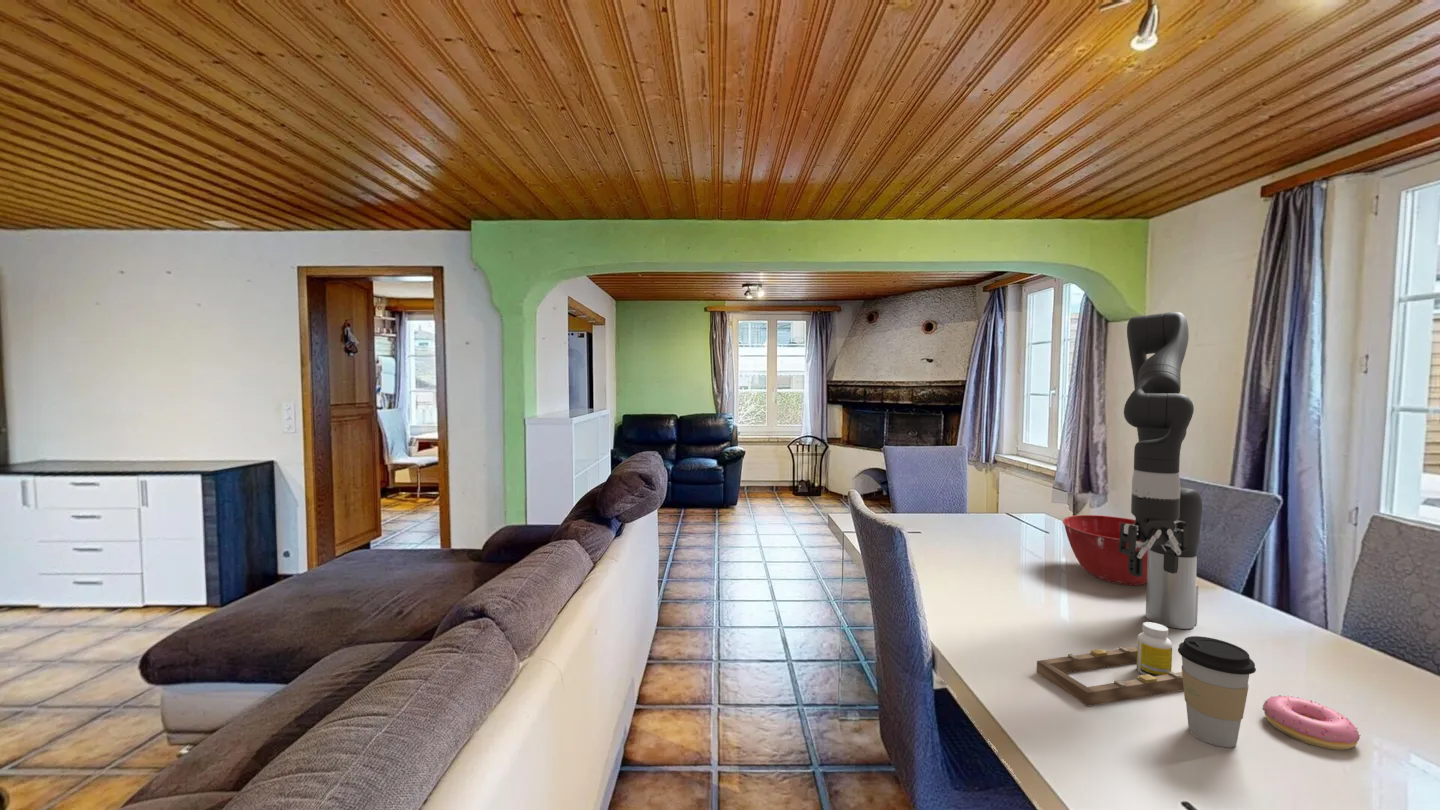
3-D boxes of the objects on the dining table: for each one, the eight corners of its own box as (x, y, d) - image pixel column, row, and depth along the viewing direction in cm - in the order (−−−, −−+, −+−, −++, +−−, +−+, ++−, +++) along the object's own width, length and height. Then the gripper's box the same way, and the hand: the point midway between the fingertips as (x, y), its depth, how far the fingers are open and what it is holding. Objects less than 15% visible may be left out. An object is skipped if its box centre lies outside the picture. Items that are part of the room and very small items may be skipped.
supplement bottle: (1177, 683, 105) (1179, 633, 104) (1146, 679, 106) (1147, 631, 105) (1160, 668, 110) (1162, 621, 110) (1130, 665, 111) (1132, 619, 111)
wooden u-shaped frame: (1144, 656, 115) (1145, 642, 114) (1204, 686, 103) (1205, 670, 103) (1036, 672, 108) (1036, 657, 108) (1087, 706, 97) (1088, 689, 97)
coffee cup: (1160, 719, 93) (1163, 635, 93) (1210, 716, 94) (1213, 632, 93) (1215, 757, 84) (1218, 663, 83) (1270, 754, 85) (1273, 660, 84)
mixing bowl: (1207, 596, 147) (1209, 540, 147) (1102, 595, 148) (1104, 540, 147) (1130, 561, 176) (1131, 515, 175) (1042, 561, 176) (1043, 514, 175)
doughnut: (1377, 750, 86) (1379, 724, 86) (1327, 760, 83) (1328, 734, 83) (1292, 709, 96) (1293, 686, 96) (1245, 717, 94) (1246, 694, 94)
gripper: (1165, 488, 112) (1162, 565, 113) (1108, 491, 109) (1106, 570, 110) (1204, 495, 105) (1201, 577, 105) (1144, 499, 102) (1142, 583, 102)
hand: (1152, 573), depth 107 cm, fingers open, 8 cm apart
